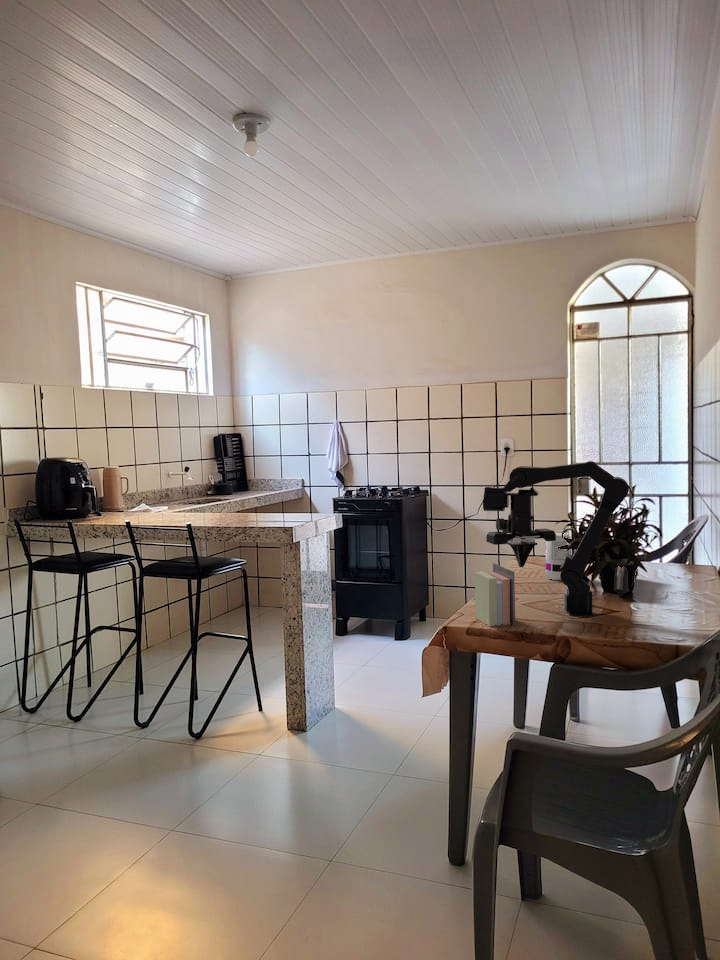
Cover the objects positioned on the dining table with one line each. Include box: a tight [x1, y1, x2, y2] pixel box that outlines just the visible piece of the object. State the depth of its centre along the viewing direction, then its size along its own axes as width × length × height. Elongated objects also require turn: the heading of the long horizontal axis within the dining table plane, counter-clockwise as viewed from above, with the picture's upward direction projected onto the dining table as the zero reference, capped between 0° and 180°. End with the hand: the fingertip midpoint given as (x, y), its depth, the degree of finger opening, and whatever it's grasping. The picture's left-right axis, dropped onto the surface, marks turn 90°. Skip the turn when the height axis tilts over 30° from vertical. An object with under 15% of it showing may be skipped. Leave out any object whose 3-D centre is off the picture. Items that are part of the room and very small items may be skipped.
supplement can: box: [545, 531, 572, 581], centre depth 235 cm, size 8×8×15 cm
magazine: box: [613, 566, 639, 598], centre depth 219 cm, size 17×3×30 cm
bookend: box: [492, 563, 516, 627], centre depth 187 cm, size 1×12×14 cm, turn 14°
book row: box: [474, 571, 511, 627], centre depth 186 cm, size 6×9×12 cm, turn 14°
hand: (521, 567), depth 197 cm, fingers closed
